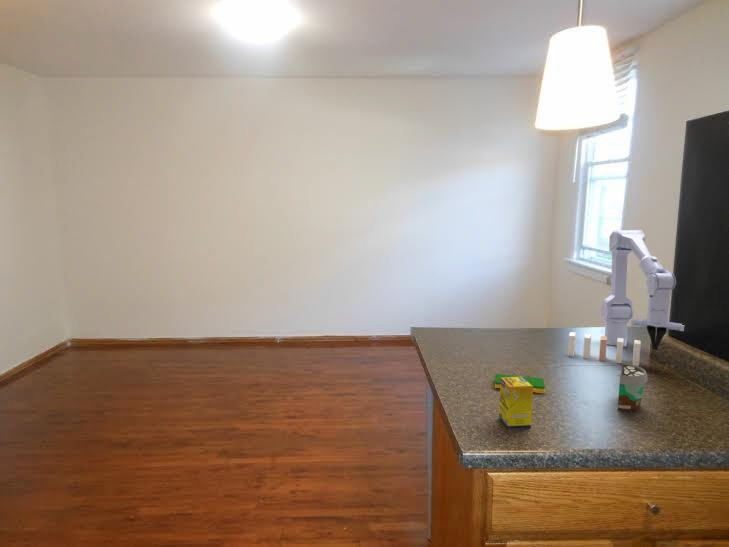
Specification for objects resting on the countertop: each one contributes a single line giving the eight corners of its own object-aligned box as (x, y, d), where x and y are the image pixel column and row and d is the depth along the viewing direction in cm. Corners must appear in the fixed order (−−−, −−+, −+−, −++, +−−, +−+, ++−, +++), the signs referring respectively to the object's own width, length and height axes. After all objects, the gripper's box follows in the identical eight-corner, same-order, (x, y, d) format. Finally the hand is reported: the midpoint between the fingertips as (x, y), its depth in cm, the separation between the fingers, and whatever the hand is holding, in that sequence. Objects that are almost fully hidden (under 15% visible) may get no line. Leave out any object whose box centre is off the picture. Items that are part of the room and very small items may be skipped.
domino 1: (567, 355, 161) (568, 335, 160) (569, 351, 165) (570, 332, 164) (573, 356, 160) (574, 336, 159) (574, 352, 164) (576, 332, 163)
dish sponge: (495, 380, 140) (495, 373, 139) (542, 385, 136) (543, 378, 135) (494, 389, 133) (494, 382, 133) (544, 395, 129) (545, 387, 129)
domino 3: (598, 360, 156) (600, 339, 155) (600, 356, 160) (601, 335, 159) (604, 361, 155) (606, 340, 154) (605, 357, 159) (607, 336, 158)
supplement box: (498, 418, 115) (499, 377, 113) (521, 416, 115) (523, 376, 113) (507, 429, 109) (509, 386, 107) (531, 428, 109) (533, 385, 108)
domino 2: (583, 358, 158) (584, 337, 157) (584, 353, 162) (585, 333, 161) (588, 358, 157) (590, 338, 156) (589, 354, 162) (591, 334, 160)
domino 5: (632, 365, 151) (634, 343, 150) (632, 360, 155) (634, 339, 154) (638, 366, 150) (640, 344, 149) (638, 361, 154) (640, 340, 153)
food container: (644, 418, 114) (648, 380, 112) (617, 412, 117) (620, 375, 116) (645, 400, 124) (648, 365, 123) (619, 395, 127) (622, 361, 126)
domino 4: (615, 362, 153) (617, 341, 152) (616, 358, 157) (617, 337, 156) (621, 363, 152) (623, 342, 151) (621, 359, 157) (623, 338, 155)
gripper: (632, 308, 147) (629, 348, 149) (686, 314, 140) (682, 356, 142) (632, 304, 153) (629, 343, 155) (684, 309, 146) (680, 349, 148)
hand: (654, 348), depth 149 cm, fingers closed
